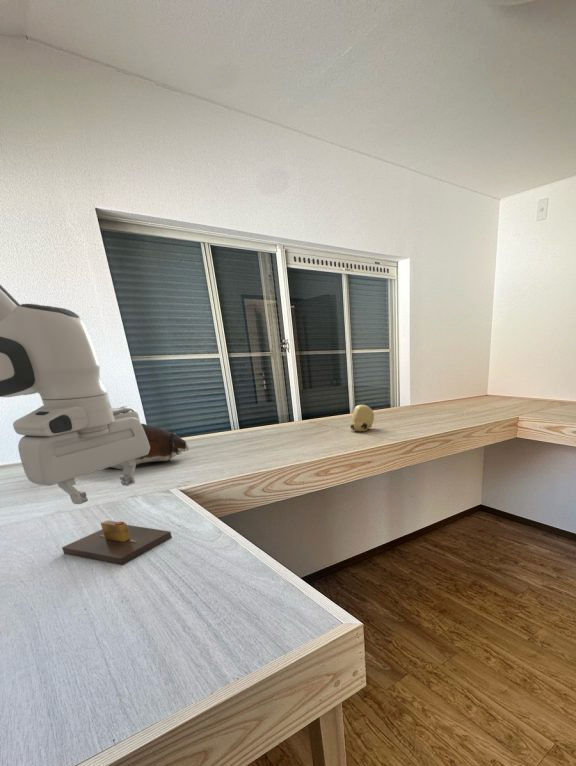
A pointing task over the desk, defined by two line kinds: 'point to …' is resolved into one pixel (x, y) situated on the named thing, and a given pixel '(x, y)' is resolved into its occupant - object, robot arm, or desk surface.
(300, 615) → the desk surface
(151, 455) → the brown tapered piece
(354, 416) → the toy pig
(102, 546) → the plate
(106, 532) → the lock turn
